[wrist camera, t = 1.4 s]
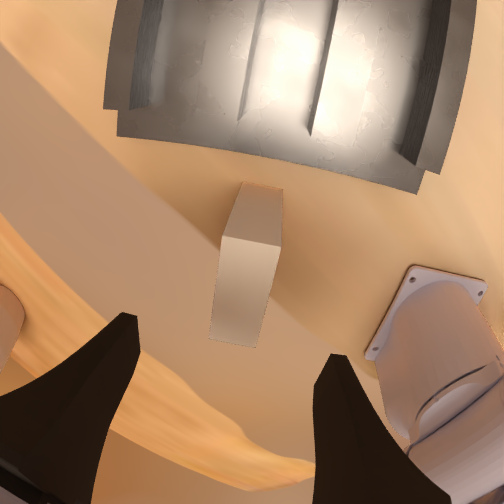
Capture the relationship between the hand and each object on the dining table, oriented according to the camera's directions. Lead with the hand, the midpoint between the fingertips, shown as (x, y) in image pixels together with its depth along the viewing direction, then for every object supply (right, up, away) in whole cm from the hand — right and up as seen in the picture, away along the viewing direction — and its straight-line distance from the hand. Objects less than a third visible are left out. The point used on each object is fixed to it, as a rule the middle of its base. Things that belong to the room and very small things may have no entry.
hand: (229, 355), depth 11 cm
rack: (+3, +16, +2) cm, 17 cm away
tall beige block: (+1, +5, +9) cm, 11 cm away
